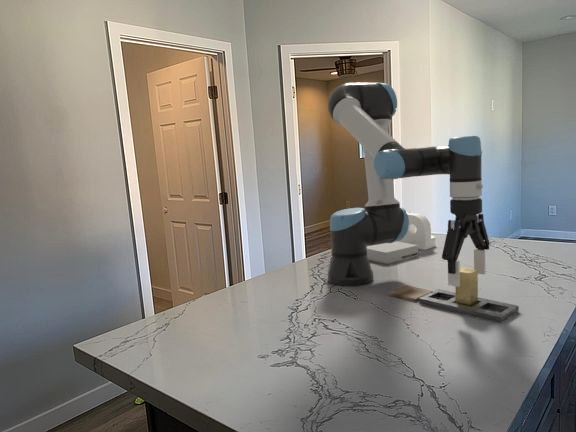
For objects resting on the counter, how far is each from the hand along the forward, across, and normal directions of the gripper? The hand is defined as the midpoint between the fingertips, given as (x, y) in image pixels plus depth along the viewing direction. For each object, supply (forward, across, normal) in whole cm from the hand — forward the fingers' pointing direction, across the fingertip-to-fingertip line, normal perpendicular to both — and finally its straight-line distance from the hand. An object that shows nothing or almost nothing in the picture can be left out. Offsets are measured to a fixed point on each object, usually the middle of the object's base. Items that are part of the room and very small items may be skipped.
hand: (467, 279), depth 114 cm
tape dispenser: (+7, +57, +54) cm, 78 cm away
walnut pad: (+7, 0, +17) cm, 19 cm away
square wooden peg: (+8, 0, 0) cm, 8 cm away
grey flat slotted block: (+8, 0, 0) cm, 8 cm away
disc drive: (+7, +34, +54) cm, 64 cm away
